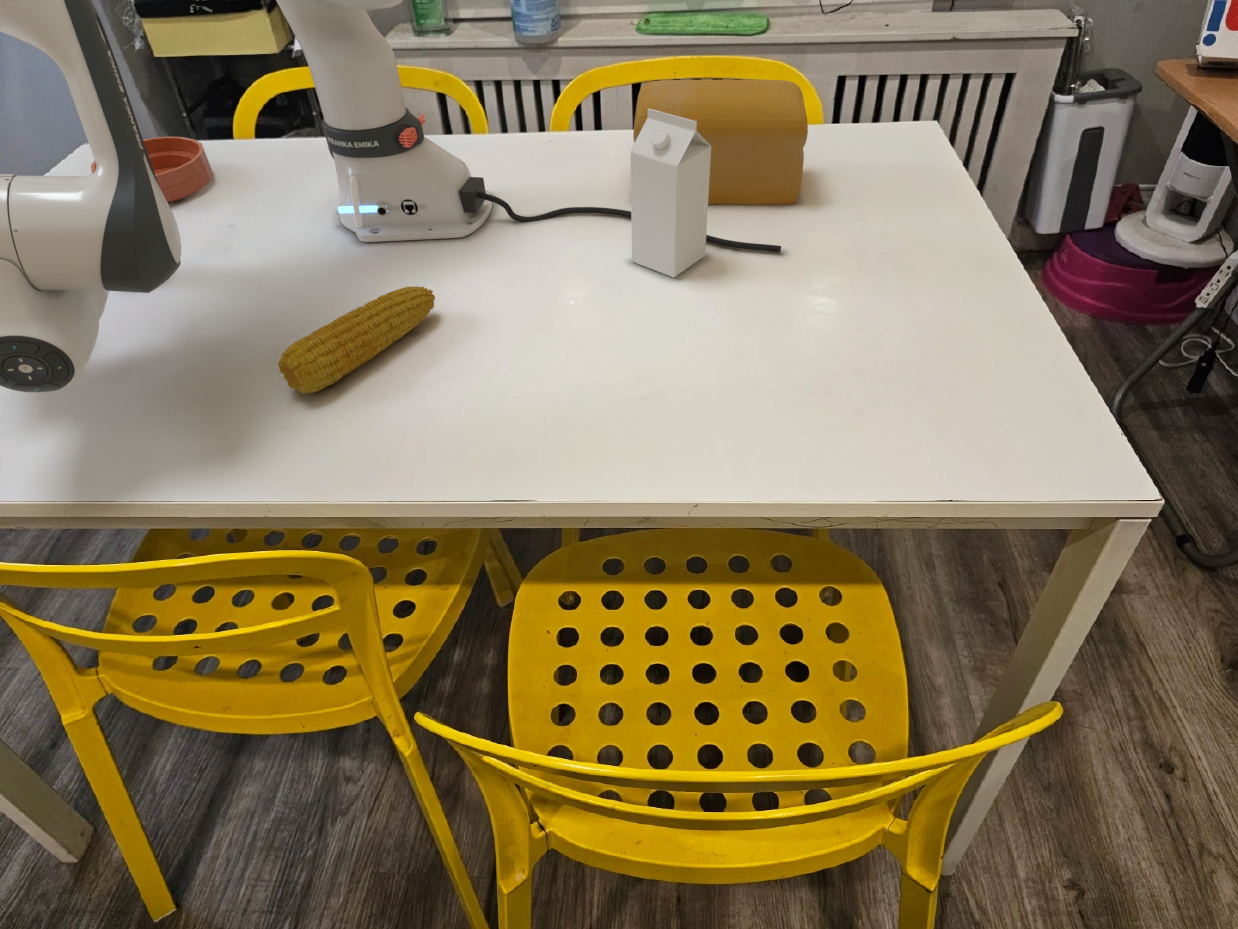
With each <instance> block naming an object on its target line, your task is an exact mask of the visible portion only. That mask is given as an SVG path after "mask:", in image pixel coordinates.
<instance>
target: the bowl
mask: <svg viewBox="0 0 1238 929" xmlns="http://www.w3.org/2000/svg"><path fill="white" fill-rule="evenodd" d="M143 141H144V144H145V147H146V150H147V153H148V156H149V159H150V162H151V165H152V168H153V170H154V173H155V176H156V178H157V181H158V184H159V186H160V189H161V191H162V193H163V195H164V197H165V199H166V201H167V203H168V204H170V203H174V202H177V201H180V200H183V199H185V198H189V197H191V196H192V195H194V194H195V193H197V192H198V191H199V190H202V189H204V188H205V187H206V186H207V185H208V184H210V183H211V181H212V179H213V177H214V171H213V169H212V166H211V164H210V161H209V159H208V157H207V153H206V151H205V148H204V146H203V143H202V142H200V141H198V140H196V139H195V138H190V137H186V136H160V137H159V136H158V137H150V138H145V139H144V138H143ZM90 169H91V174H93V173H94V172H95V171H96V162H95V160H94V161H93V162H92V163H91V164H90Z"/></svg>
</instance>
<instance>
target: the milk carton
mask: <svg viewBox="0 0 1238 929" xmlns="http://www.w3.org/2000/svg"><path fill="white" fill-rule="evenodd" d="M696 128H697V121H693V120H690V119H686V118H682V117H679V116H675V115H671V114H668V113H664V112H660V111H657V110H653V109H648V118H647V120H646V122H645V124H644V126H643V128H642V130H641V131H640V133H639V135H638V137H637V139H636V141H635V143H634V142H633V145H632V147H631V149H630V203H631V204H630V211H631V218H630V220H631V223H630V224H631V261H632V262H633V263H635V264H637V265H640V266H643V267H646V268H647V269H650V270H652V271H655V272H658V273H660V274H664V275H666V276H669V277H671V278H676V277H677V276H679V275H680V274H681V273H683V272H684V271H686V270H687V269H689V268H690V267H691V266H693V265H694V264H696V263H697V262H698V261H700V260H701V259H703V258H705V257H706V247H707V246H706V245H707V242H706V235H707V229H708V211H709V210H708V208H709V204H708V196H709V178H710V161H711V145H710V144H709V143H708V142H707V141H706V140H705V139H704V138H703V137H702V136H701V135H700V134H699V133H698V132H697V131H696Z"/></svg>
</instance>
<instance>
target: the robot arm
mask: <svg viewBox="0 0 1238 929" xmlns="http://www.w3.org/2000/svg"><path fill="white" fill-rule="evenodd" d="M404 1H405V0H275V2H276V3H277V5H278V6H279V8H280V10H281V12H282V14H283V16H284V18H285V20H286V21H287V23H288V25H289V27H290V29H291V31H292V33H293V35H294V37H295V38H296V41H297V43H298V44H299V46H300V49H301V51H302V53H303V56H304V58H305V61H306V63H307V66H308V69H309V72H310V76H311V79H312V82H313V85H314V88H315V92H316V96H317V99H318V102H319V106H320V108H321V109H320V110H321V113H322V116H323V118H322V120H321V125H322V127H323V132H324V136H325V140H326V144H327V147H328V151H329V153H330V156H331V158H332V159H333V161H334V166H335V171H336V178H337V184H338V185H337V186H338V195H339V206H337V211H338V214H339V221H340V223H341V225H343V226H344V227H345V228H346V229H348V230H350V231H352V232H354V233H355V235H356V237H357V238H358V240H359V241H361V242H363V243H376V242H377V243H379V242H397V241H400V242H401V241H416V240H418V241H419V240H420V241H421V240H441V239H456V238H457V239H458V238H459V239H460V238H464V237H466V236H469V235H471V234H473V233H474V232H476V230H478V229H479V228H480V227H481V226H483V224H484V223H485V222H486V220H487V219H488V217H489V216H490V214H491V211H492V208H493V203H494V204H497V205H499V206H500V207H502V208H503V209H504V210H505V212H506V213H507V215H508V217H509V218H510V219H512V220H513V221H516V222H519V223H531V222H532V223H533V222H538V221H544V220H547V219H552V218H556V217H561V216H564V215H572V214H598V215H610V216H618V217H624V218H629V219H631V210H625V209H618V208H610V207H600V206H571V207H563V208H557V209H555V210H551V211H548V212H546V213H542V214H539V215H533V216H524V215H520V214H517V213H515V212H514V210H513V208H512V206H510V204H509V203H508V202H507V201H505V200H504V199H502V198H500V197H498V196H495V195H492V194H490V192H489V191H488V190H487V189H486V187H485V179H484V177H481V176H480V177H479V176H472V173H471V172H470V170H469V167H468V166H467V164H466V163H465V162H464V161H463V160H462V159H460V158H459V157H457V156H455V155H453V154H452V153H451V152H449V151H447V150H446V149H444V148H443V147H441V146H440V145H438V144H437V143H435V142H434V141H432V140H430V139H429V138H427V137H426V136H425V135H424V130H423V129H424V128H423V125H424V124H425V123H426V119H425V113H421V114H420V116H418V118H417V116H415V115H414V114H413V113H411V111H410V109H409V108H408V107H406V104H405V99H404V98H405V97H404V94H403V88H402V84H401V79H400V74H399V68H398V65H397V59H396V54H395V52H394V49H393V48H392V46H391V44H390V43H389V41H388V40H387V39H386V38H385V37H384V36H383V34H382V33H380V31H379V30H378V28H377V27H376V25H374V23H373V21H372V20H371V18H370V16H369V14H368V12H367V11H375V10H376V11H377V10H383V9H390V8H394V7H397V6H398V5H400V4H402V3H403V2H404ZM0 33H2V34H5V35H7V36H10V37H12V38H15V39H17V40H19V41H21V42H24V43H26V44H28V45H30V46H32V47H34V48H36V49H38V50H40V51H41V52H42V53H43V54H45V55H47V56H48V57H49V58H51V60H53V61H54V62H55V64H56V65H57V66H58V68H59V69H60V71H61V73H62V75H63V76H64V79H65V81H66V84H67V87H68V89H69V92H70V95H71V98H72V100H73V103H74V106H75V108H76V112H77V114H78V117H79V119H80V122H81V126H82V128H83V130H84V133H85V134H84V135H85V136H86V139H87V142H88V145H89V147H90V151H91V153H92V156H93V160H94V161H95V162H96V171H95V172H94V173H93V174H92V173H91V174H88V175H81V176H77V175H76V176H74V175H73V176H71V175H69V176H67V175H64V176H63V175H21V174H17V173H0V387H2V388H5V389H8V390H12V391H15V392H22V393H46V392H55V391H59V390H61V389H63V388H66V387H67V386H69V385H71V384H72V383H74V381H76V380H77V379H78V377H80V375H81V374H82V373H83V371H84V369H85V368H86V366H87V364H88V363H89V360H90V358H91V356H92V354H93V352H94V351H93V350H94V349H95V346H96V342H97V340H98V335H99V331H100V320H101V318H102V316H103V314H104V312H105V309H106V305H107V301H108V298H109V293H110V292H123V293H140V294H141V293H144V294H150V293H151V292H153V291H155V290H157V288H159V287H160V286H161V285H163V284H164V283H166V282H167V280H169V279H170V278H171V277H172V276H173V275H174V274H175V273H176V271H177V270H178V269H179V268H180V266H181V263H182V262H181V257H182V241H181V240H182V239H181V234H180V230H179V227H178V223H177V220H176V218H175V215H174V213H173V211H172V208H171V206H170V205H169V203H167V201H166V199H165V197H164V195H163V193H162V191H161V189H160V186H159V184H158V181H157V178H156V176H155V173H154V170H153V168H152V165H151V162H150V159H149V156H148V153H147V150H146V147H145V144H144V141H143V140H144V138H143V136H142V132H141V130H140V127H139V124H138V121H137V118H136V115H135V112H134V109H133V106H132V103H131V101H130V98H129V94H128V92H127V89H126V86H125V83H124V80H123V77H122V73H121V72H120V68H119V65H118V62H117V60H116V57H115V54H114V52H113V49H112V45H111V44H110V43H111V42H110V41H109V38H108V35H107V32H106V30H105V27H104V25H103V22H102V19H101V17H100V15H99V12H98V10H97V7H96V6H95V4H94V2H93V0H0ZM706 243H710V244H713V245H718V246H722V247H727V248H732V249H738V250H747V251H757V252H759V251H760V252H771V253H779V254H780V253H781V250H782V245H777V244H766V243H753V242H743V241H735V240H730V239H725V238H720V237H716V236H712V235H709V234H706Z"/></svg>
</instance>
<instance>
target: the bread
mask: <svg viewBox="0 0 1238 929" xmlns="http://www.w3.org/2000/svg"><path fill="white" fill-rule="evenodd" d="M648 109H653V110H657V111H660V112H664V113H668V114H671V115H675V116H679V117H682V118H686V119H690V120H693V121H697V128H696V131H697V132H698V133H699V134H700V135H701V136H702V137H703V138H704V139H705V140H706V141H707V142H708V143H709V144H710V145H711V161H710V178H709V196H708V205H743V206H744V205H745V206H746V205H748V206H751V205H752V206H785V205H787V206H788V205H794V204H797V202H798V198H799V195H800V191H801V186H802V180H803V172H804V162H805V161H804V160H805V154H804V153H805V152H804V148H805V146H806V144H807V140H808V134H809V127H808V126H809V122H808V116H807V112H806V111H807V110H806V106H805V100H804V94H803V91H802V89H801V87H800V86H799V85H798V84H796V83H795V82H794V81H789V80H783V79H661V80H653V81H649V82H646V83H645V84H643V85H642V86H641V87H640V89H639V92H638V94H637V100H636V106H635V114H634V123H633V124H634V125H633V132H632V134H633V135H632V136H633V144H634V143H635V141H636V139H637V137H638V135H639V133H640V131H641V130H642V128H643V126H644V124H645V122H646V120H647V118H648Z"/></svg>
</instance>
